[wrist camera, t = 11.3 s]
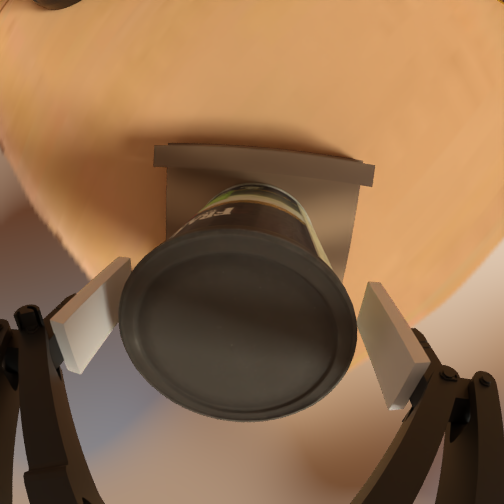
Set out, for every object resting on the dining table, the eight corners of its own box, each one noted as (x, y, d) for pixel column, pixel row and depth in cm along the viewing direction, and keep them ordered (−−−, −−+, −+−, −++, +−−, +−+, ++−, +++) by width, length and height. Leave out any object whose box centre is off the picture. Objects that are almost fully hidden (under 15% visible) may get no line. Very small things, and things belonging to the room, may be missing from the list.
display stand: (175, 143, 24) (154, 142, 19) (356, 159, 23) (375, 162, 19) (174, 302, 30) (159, 329, 25) (327, 318, 29) (336, 348, 24)
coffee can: (171, 241, 25) (83, 331, 12) (255, 156, 22) (230, 164, 9) (252, 317, 27) (235, 443, 14) (338, 247, 24) (399, 351, 11)
